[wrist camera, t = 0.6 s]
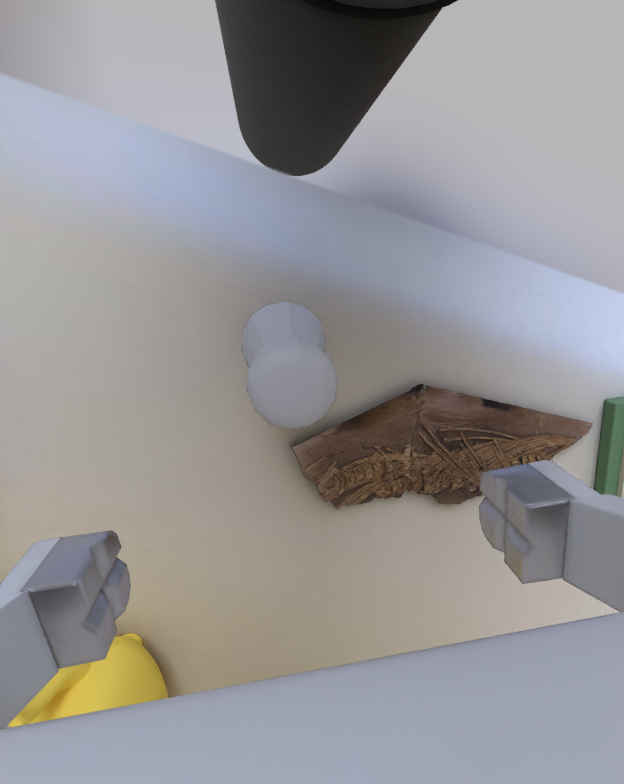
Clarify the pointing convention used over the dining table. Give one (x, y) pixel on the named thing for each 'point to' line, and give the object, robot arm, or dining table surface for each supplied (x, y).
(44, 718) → the teapot
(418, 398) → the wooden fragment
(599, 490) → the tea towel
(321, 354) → the salt shaker
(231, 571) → the dining table surface
